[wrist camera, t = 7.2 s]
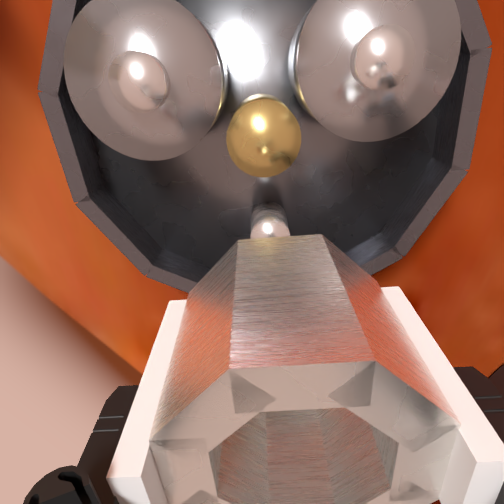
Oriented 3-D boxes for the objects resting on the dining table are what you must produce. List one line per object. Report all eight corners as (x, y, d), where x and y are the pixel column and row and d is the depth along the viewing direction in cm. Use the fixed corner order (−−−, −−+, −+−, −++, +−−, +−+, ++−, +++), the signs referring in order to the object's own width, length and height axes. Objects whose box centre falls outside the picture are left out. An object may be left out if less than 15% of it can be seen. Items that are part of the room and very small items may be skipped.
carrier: (426, 270, 28) (481, 334, 21) (125, 291, 29) (86, 358, 22) (494, -166, 17) (650, -320, 10) (7, -105, 18) (-139, -208, 11)
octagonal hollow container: (381, 229, 12) (481, 354, 7) (366, 377, 15) (427, 540, 10) (179, 244, 12) (126, 375, 7) (206, 386, 16) (183, 550, 10)
